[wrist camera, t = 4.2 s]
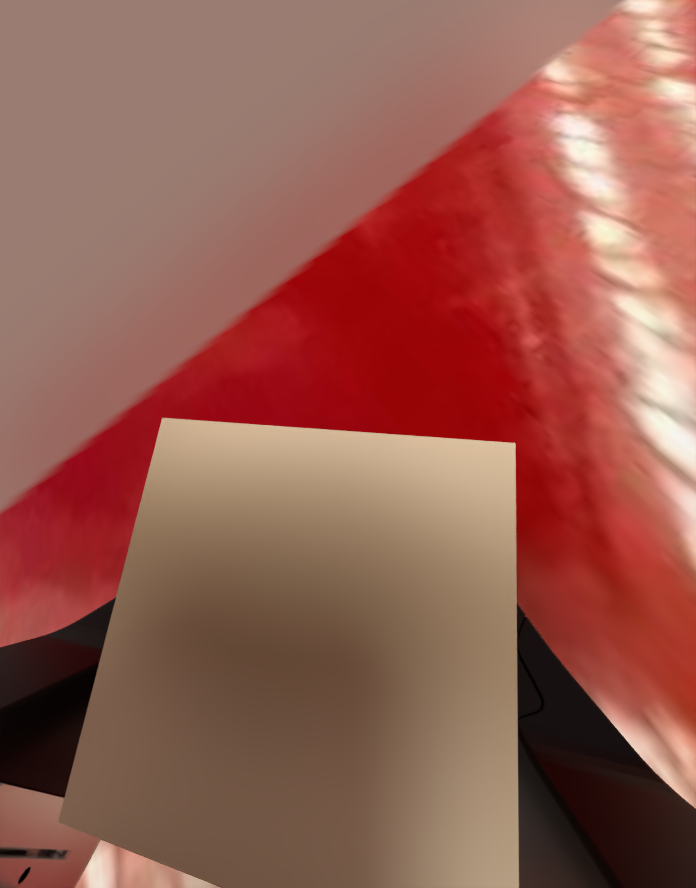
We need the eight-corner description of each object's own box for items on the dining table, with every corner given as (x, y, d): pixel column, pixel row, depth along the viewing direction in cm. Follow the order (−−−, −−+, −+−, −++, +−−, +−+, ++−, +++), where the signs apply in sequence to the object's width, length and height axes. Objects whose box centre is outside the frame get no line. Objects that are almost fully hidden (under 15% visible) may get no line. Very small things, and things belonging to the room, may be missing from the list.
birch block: (414, 594, 15) (520, 1008, 3) (315, 577, 16) (57, 822, 4) (421, 490, 16) (515, 443, 4) (327, 480, 17) (162, 418, 5)
